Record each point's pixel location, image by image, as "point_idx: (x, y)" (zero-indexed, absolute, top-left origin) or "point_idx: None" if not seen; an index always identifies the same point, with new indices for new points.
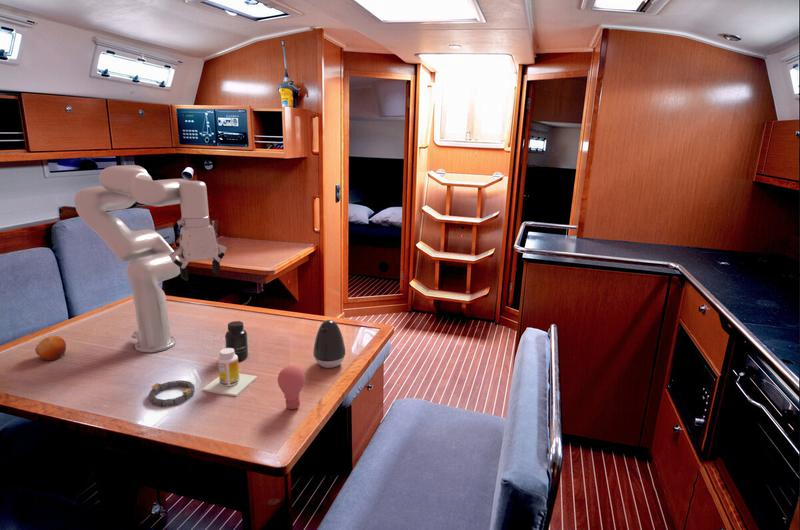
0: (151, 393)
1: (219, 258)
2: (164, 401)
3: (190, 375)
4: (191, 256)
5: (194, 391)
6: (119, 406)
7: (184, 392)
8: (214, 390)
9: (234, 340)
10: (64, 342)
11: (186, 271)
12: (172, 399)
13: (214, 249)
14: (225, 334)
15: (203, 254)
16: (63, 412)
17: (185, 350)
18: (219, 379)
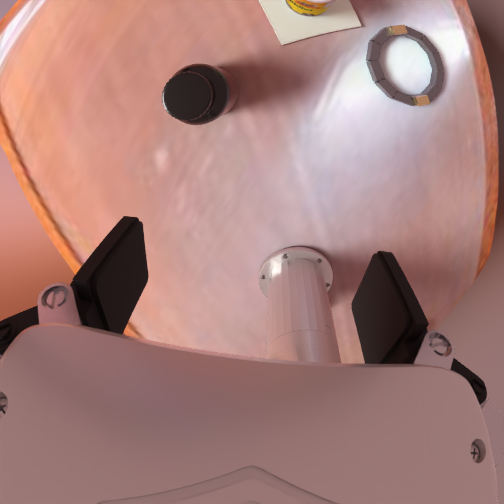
0: (433, 92)
1: (41, 309)
2: (434, 48)
3: (339, 99)
4: (451, 424)
5: (373, 37)
6: (463, 119)
7: (405, 29)
8: (348, 2)
9: (220, 70)
10: None
11: (411, 300)
12: (423, 40)
13: (6, 427)
14: (223, 108)
15: (241, 444)
16: (493, 178)
17: (273, 214)
18: (314, 25)
